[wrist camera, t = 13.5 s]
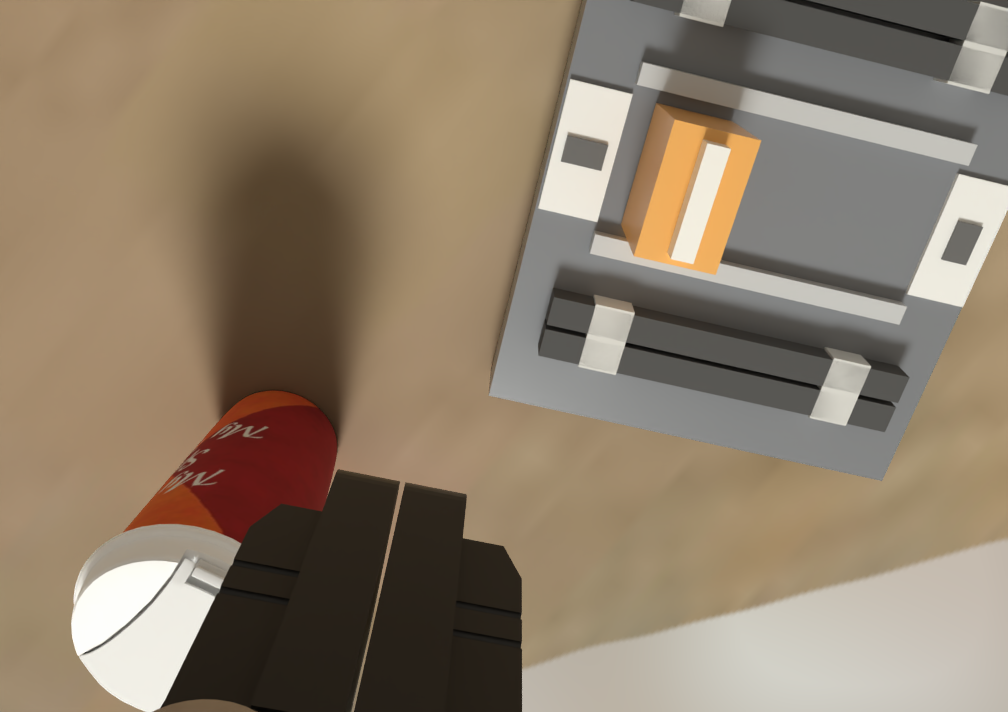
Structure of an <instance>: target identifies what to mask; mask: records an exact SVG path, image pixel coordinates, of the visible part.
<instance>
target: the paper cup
mask: <svg viewBox="0 0 1008 712" xmlns="http://www.w3.org/2000/svg"><path fill="white" fill-rule="evenodd" d="M336 455H337V440H336V435H335V432H334V429H333V427H332V425H331V423H330V421H329V419H328V418H327V417H326V415H325V414H324V413H323V412H322V411H321V410H320V409H319V408H318V407H317V406H316V405H315V404H313V403H312V402H310V401H309V400H307V399H305V398H303V397H301V396H299V395H296V394H293V393H290V392H285V391H275V390H271V391H262V392H258V393H254V394H252V395H249V396H247V397H245V398H244V399H242V400H241V401H239V402H238V403H237V404H235V405H234V406H233V407H232V408H231V409H230V410H229V411H228V412H227V413H226V414H225V415H224V416H223V417H222V418H221V420H220V421H219V422H218V423H217V424H216V425H215V426H214V427H213V428H212V430H211V431H210V432H209V433H208V434H207V435H206V436H205V438H204V439H203V440H202V441H201V442H200V443H199V444H198V446H197V447H196V448H195V449H194V450H193V451H192V453H191V454H190V455H189V456H188V457H187V458H186V459H185V461H184V462H183V463H182V464H181V465H180V466H179V468H178V469H177V470H176V471H175V472H174V473H173V475H172V476H171V477H170V478H169V479H168V480H167V482H166V483H165V484H164V485H163V486H162V487H161V489H160V490H159V491H158V492H157V493H156V494H155V496H154V497H153V498H152V499H151V500H150V501H149V503H148V504H147V505H146V506H145V507H144V508H143V510H142V511H141V512H140V513H139V514H138V515H137V517H136V518H135V519H134V520H133V521H132V522H131V524H130V525H129V526H128V527H127V528H126V529H125V531H124V532H123V533H121V534H119V535H117V536H115V537H113V538H111V539H110V540H108V541H107V542H106V543H104V544H103V545H101V546H100V547H99V548H98V549H97V550H96V551H95V552H94V553H93V554H92V555H91V556H90V557H89V558H88V560H87V561H86V563H85V565H84V566H83V568H82V569H81V571H80V574H79V576H78V579H77V582H76V585H75V592H74V608H73V614H72V621H71V626H72V638H73V642H74V646H75V650H76V652H77V654H78V656H79V655H80V657H79V658H80V659H81V661H82V662H83V663H84V665H85V666H86V668H87V669H88V670H89V672H90V673H91V674H92V675H93V677H94V678H95V679H96V680H97V681H98V683H99V684H100V685H101V686H102V687H104V688H105V689H106V690H107V691H108V692H109V693H110V694H112V695H114V696H115V697H117V698H118V699H120V700H121V701H123V702H125V703H127V704H129V705H131V706H133V707H135V708H138V709H140V710H143V711H146V712H153V711H155V710H157V709H160V707H161V706H162V704H163V702H164V701H165V699H166V697H167V695H168V693H169V691H170V689H171V687H172V685H173V683H174V681H175V679H176V676H177V674H178V672H179V670H180V668H181V666H182V664H183V662H184V660H185V658H186V656H187V654H188V652H189V650H190V648H191V646H192V644H193V642H194V640H195V638H196V635H197V633H198V631H199V629H200V627H201V625H202V623H203V621H204V619H205V617H206V615H207V613H208V611H209V609H210V607H211V605H212V603H213V601H214V599H215V597H216V595H217V593H219V591H220V587H221V584H222V582H223V580H224V578H225V576H226V574H227V572H228V570H229V568H230V566H231V565H233V561H234V558H235V556H236V554H237V551H238V549H239V547H240V545H241V543H242V541H243V539H244V537H245V535H246V533H247V531H248V529H249V527H250V526H251V525H253V524H254V523H255V522H257V521H258V520H260V519H261V518H262V517H264V516H265V515H266V514H268V513H269V512H270V511H272V510H273V509H275V508H276V507H277V506H279V505H280V504H287V505H292V506H297V507H302V508H307V509H312V510H317V511H322V510H323V507H324V505H325V502H326V498H327V495H328V491H329V487H330V483H331V479H332V475H333V471H334V466H335V461H336Z"/></svg>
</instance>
